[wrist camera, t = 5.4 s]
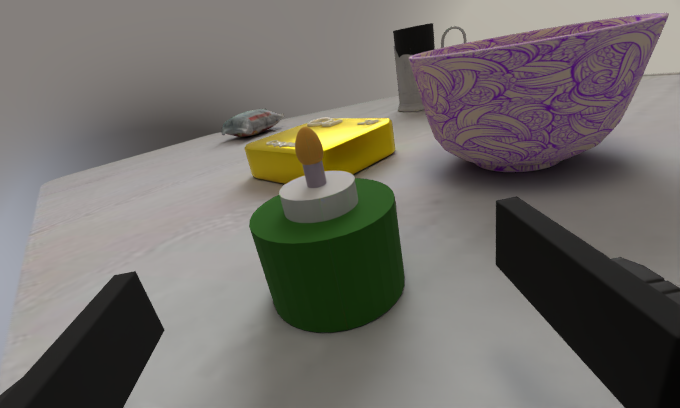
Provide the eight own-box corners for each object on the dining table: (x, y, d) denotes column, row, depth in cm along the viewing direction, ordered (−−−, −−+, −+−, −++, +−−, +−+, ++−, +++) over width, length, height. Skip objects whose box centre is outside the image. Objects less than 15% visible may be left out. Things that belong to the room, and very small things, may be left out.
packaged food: (287, 126, 79) (281, 104, 77) (247, 141, 71) (240, 117, 69) (261, 127, 84) (256, 107, 82) (222, 142, 76) (214, 119, 74)
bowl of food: (486, 127, 49) (485, 37, 44) (677, 140, 33) (706, 2, 28) (380, 173, 39) (365, 65, 35) (575, 222, 23) (596, 35, 19)
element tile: (246, 177, 47) (236, 143, 45) (324, 144, 56) (319, 115, 54) (321, 193, 37) (312, 149, 35) (401, 149, 46) (397, 113, 44)
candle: (424, 312, 18) (405, 124, 14) (269, 347, 18) (205, 165, 14) (386, 238, 26) (367, 102, 22) (277, 262, 26) (237, 128, 22)
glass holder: (408, 103, 78) (401, 30, 72) (473, 98, 70) (471, 15, 64) (391, 112, 72) (382, 33, 66) (461, 108, 64) (458, 17, 58)
